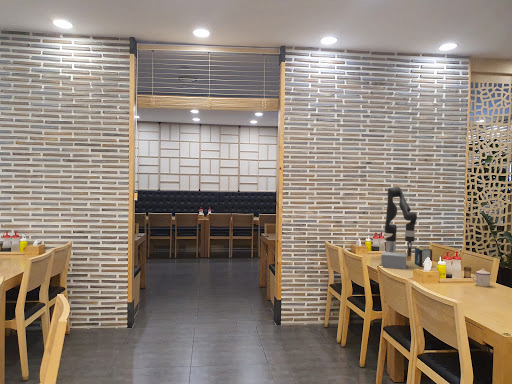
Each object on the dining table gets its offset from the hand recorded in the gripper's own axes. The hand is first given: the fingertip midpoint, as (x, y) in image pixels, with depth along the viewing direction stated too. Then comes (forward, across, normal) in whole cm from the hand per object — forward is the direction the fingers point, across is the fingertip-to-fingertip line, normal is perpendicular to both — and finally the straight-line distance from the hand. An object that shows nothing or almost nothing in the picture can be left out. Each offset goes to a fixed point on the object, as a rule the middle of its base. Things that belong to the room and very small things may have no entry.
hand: (409, 255), depth 341 cm
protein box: (+11, -17, +12) cm, 23 cm away
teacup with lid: (+10, +46, +47) cm, 66 cm away
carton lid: (+4, 0, -10) cm, 11 cm away
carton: (+10, 0, -12) cm, 16 cm away
